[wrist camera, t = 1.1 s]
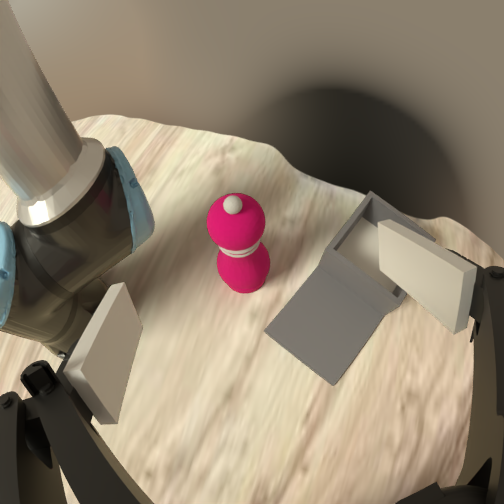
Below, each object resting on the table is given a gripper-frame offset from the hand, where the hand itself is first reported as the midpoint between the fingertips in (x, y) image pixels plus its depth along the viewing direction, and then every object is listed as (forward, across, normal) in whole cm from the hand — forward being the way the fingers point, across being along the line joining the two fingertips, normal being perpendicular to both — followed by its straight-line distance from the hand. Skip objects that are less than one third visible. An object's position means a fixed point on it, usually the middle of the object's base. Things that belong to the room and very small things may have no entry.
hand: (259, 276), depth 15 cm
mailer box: (+24, +14, -18) cm, 33 cm away
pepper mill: (+29, 0, -13) cm, 32 cm away
